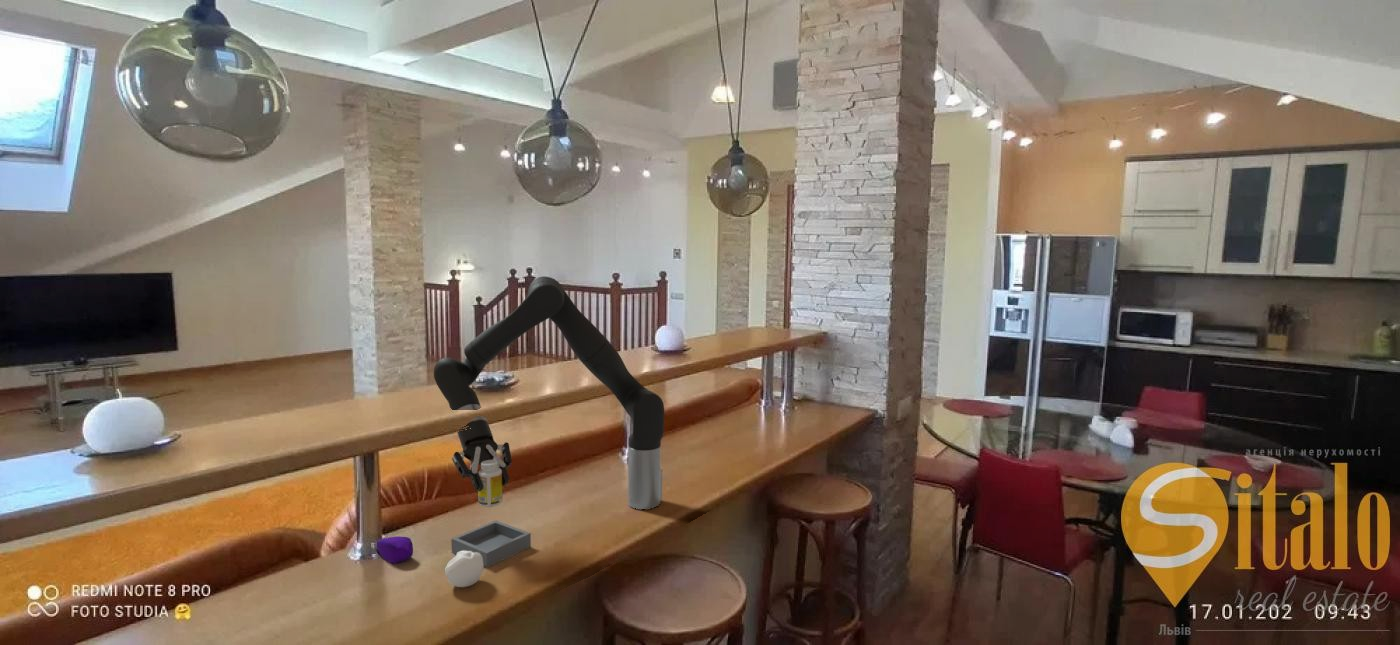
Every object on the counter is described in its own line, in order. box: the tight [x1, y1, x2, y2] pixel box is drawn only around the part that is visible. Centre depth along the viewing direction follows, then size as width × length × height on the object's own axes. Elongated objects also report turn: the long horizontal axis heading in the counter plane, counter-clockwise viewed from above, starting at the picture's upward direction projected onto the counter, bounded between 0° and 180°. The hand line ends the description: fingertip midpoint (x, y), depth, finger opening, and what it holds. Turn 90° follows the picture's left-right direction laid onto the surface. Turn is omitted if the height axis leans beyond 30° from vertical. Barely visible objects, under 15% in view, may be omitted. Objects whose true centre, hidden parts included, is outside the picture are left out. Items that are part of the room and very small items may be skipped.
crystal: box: [376, 535, 414, 564], centre depth 153 cm, size 5×5×15 cm
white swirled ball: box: [444, 551, 484, 588], centre depth 140 cm, size 8×8×8 cm
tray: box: [450, 519, 532, 568], centre depth 157 cm, size 13×13×4 cm
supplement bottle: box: [477, 460, 503, 508], centre depth 156 cm, size 6×6×10 cm
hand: (493, 486), depth 154 cm, fingers closed on supplement bottle, 5 cm apart
